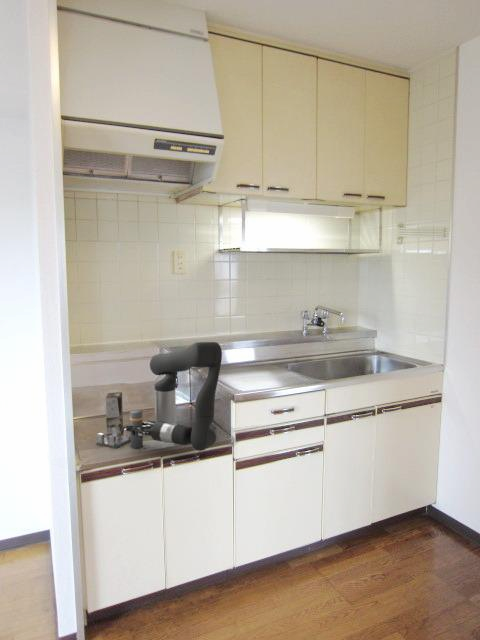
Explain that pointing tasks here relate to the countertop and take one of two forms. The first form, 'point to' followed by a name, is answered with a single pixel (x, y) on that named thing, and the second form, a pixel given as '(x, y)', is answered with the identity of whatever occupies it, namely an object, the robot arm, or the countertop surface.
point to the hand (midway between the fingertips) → (131, 425)
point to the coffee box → (114, 412)
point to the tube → (137, 421)
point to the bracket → (113, 438)
